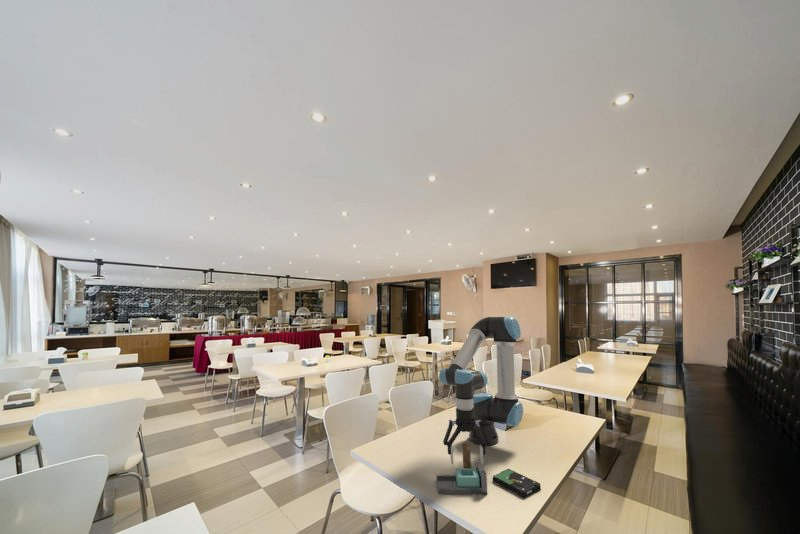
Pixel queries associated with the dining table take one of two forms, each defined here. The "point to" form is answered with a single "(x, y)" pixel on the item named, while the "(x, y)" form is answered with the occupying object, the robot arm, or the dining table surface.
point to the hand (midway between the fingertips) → (466, 462)
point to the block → (467, 477)
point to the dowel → (466, 455)
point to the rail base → (449, 486)
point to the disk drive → (516, 483)
